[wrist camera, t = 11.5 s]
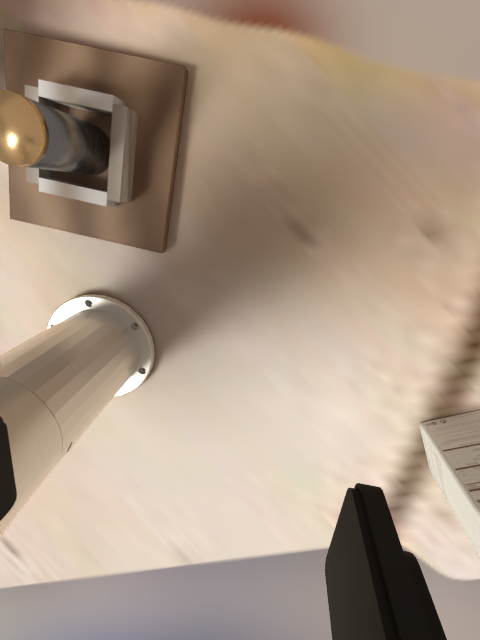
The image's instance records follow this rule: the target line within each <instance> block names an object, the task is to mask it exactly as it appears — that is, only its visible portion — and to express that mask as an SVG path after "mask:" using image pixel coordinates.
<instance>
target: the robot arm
mask: <svg viewBox="0 0 480 640" xmlns="http://www.w3.org/2000/svg"><path fill="white" fill-rule="evenodd" d="M91 301H92V302H91ZM136 323H137V324H138V325H136ZM154 357H155V350H154V343H153V339H152V335H151V333H150V331H149V329H148V327H147V325H146V324H145V322H144V321H143V319H142V318H141V317H140V316H139V315H138V314H137V313H136V312H135V311H134V310H133V309H132V308H130V307H129V306H128V305H126V304H125V303H123V302H121V301H119V300H117V299H115V298H112V297H109V296H105V295H98V294H88V295H82V296H78V297H75V298H73V299H71V300H69V301H67V302H65V303H64V304H62V305H61V306H60V307H58V309H57V310H56V311H55V312H54V313H53V315H52V317H51V319H50V321H49V323H48V327H47V330H45V331H43V332H41V333H40V334H38V335H36V336H34V337H33V338H31V339H29V340H27V341H25V342H24V343H22V344H20V345H18V346H17V347H15V348H13V349H11V350H10V351H8V352H6V353H4V354H2V355H1V356H0V537H1V536H2V534H3V533H4V531H5V530H6V528H7V527H8V526H9V524H10V523H11V522H12V520H13V519H14V517H15V516H16V515H17V513H18V512H19V511H20V509H21V508H22V507H23V506H24V504H25V503H26V502H27V501H28V499H29V498H30V497H31V496H32V494H33V493H34V492H35V491H36V489H37V488H38V487H39V486H40V484H41V483H42V482H43V481H44V480H45V478H46V477H47V476H48V475H49V474H50V472H51V471H52V470H53V469H54V468H55V466H56V465H57V464H58V463H59V462H60V460H61V459H62V458H63V457H64V456H65V454H66V453H67V452H68V451H69V450H70V448H71V447H72V446H73V445H74V444H75V442H76V441H77V440H78V439H79V438H80V437H81V435H82V434H83V433H84V432H85V431H86V429H87V428H88V427H89V426H90V425H91V423H92V422H93V421H94V420H95V419H96V417H97V416H98V415H99V414H100V413H101V411H102V410H103V409H104V408H105V407H106V405H107V404H108V403H109V402H110V401H111V399H112V398H113V397H116V396H121V395H125V394H127V393H130V392H132V391H134V390H135V389H136V388H138V387H139V386H140V385H141V384H142V383H143V382H144V381H145V379H146V378H147V376H148V375H149V373H150V372H151V369H152V366H153V363H154ZM325 574H326V575H325V576H326V584H327V594H328V603H329V612H330V620H331V631H332V639H333V640H447V639H446V636H445V633H444V631H443V628H442V625H441V622H440V620H439V617H438V614H437V612H436V609H435V606H434V604H433V601H432V598H431V595H430V593H429V590H428V587H427V584H426V582H425V579H424V576H423V574H422V571H421V568H420V565H419V563H418V561H417V559H416V557H415V556H414V555H413V554H412V553H410V552H407V551H403V549H402V546H401V544H400V541H399V538H398V535H397V532H396V529H395V526H394V523H393V520H392V517H391V514H390V511H389V508H388V505H387V502H386V499H385V496H384V493H383V491H382V489H381V488H380V487H375V486H370V485H365V484H360V483H357V484H356V485H355V488H354V489H353V488H348V490H347V492H346V496H345V499H344V502H343V505H342V508H341V512H340V515H339V518H338V521H337V525H336V528H335V531H334V534H333V537H332V541H331V544H330V547H329V550H328V554H327V557H326V563H325Z"/></svg>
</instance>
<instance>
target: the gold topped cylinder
mask: <svg viewBox="0 0 480 640" xmlns="http://www.w3.org/2000/svg"><path fill="white" fill-rule="evenodd" d="M109 156H110V140H109V138H108V137H107V135H106V134H105V132H104V131H103V130H102V129H101V128H99V127H98V126H96V125H94V124H91V123H89V122H86V121H84V120H81V119H79V118H76V117H74V116H71V115H69V114H66V113H64V112H62V111H59V110H57V109H54V108H52V107H49V106H47V105H44V104H42V103H39V102H37V101H34V100H32V99H30V98H27V97H25V96H22V95H20V94H17V93H15V92H12V91H9V90H0V161H2V162H4V163H6V164H9V165H15V166H23V167H30V168H38V169H46V170H53V171H61V172H69V173H76V174H84V175H99V174H101V173H103V172H104V171H105V170H106V169H107V168H108V167H109Z"/></svg>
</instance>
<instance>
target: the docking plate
mask: <svg viewBox="0 0 480 640" xmlns="http://www.w3.org/2000/svg"><path fill="white" fill-rule="evenodd" d="M4 42H5V72H6V90H9V91H12V92H15V93H17V94H20V95H22V96H25V97H27V98H30V99H32V100H34V101H37V102H39V103H42V104H44V105H47V106H49V107H52V108H54V109H57V110H59V111H62V112H64V113H66V114H69V115H71V116H74V117H76V118H79V119H81V120H84V121H86V122H89V123H91V124H94V125H96V126H98V127H99V128H101V129H102V130H103V131H104V132H105V134H106V135H107V137H108V138H109V140H110V156H109V167H108V168H107V169H106V170H105V171H104V172H103V173H101V174H99V175H84V174H76V173H69V172H61V171H53V170H46V169H38V168H30V167H23V166H15V165H9V194H10V219H14V220H19V221H23V222H27V223H32V224H36V225H40V226H45V227H49V228H54V229H58V230H62V231H67V232H71V233H76V234H80V235H84V236H89V237H93V238H98V239H102V240H106V241H111V242H115V243H119V244H124V245H128V246H133V247H137V248H141V249H146V250H150V251H155V252H159V253H163V252H165V250H166V242H167V234H168V226H169V218H170V210H171V202H172V195H173V187H174V179H175V171H176V163H177V155H178V147H179V140H180V132H181V124H182V116H183V108H184V100H185V92H186V84H187V77H188V71H187V69H186V68H185V67H184V66H179V65H174V64H170V63H165V62H160V61H155V60H151V59H146V58H141V57H136V56H132V55H127V54H122V53H117V52H112V51H108V50H103V49H98V48H93V47H89V46H84V45H79V44H74V43H70V42H65V41H60V40H55V39H51V38H46V37H41V36H36V35H32V34H27V33H22V32H17V31H13V30H8V29H4Z"/></svg>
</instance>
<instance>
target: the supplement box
mask: <svg viewBox="0 0 480 640" xmlns="http://www.w3.org/2000/svg"><path fill="white" fill-rule="evenodd" d="M420 429H421V434H422V438H423V443H424V447H425V451H426V456H427V460H428V464H429V469H430V472H431V473H432V475H433V477H434V479H435V480H436V482H437V484H438V486H439V487H440V489H441V491H442V493H443V494H444V496H445V498H446V500H447V501H448V503H449V505H450V507H451V509H452V510H453V512H454V514H455V516H456V517H457V519H458V521H459V523H460V524H461V526H462V528H463V530H464V532H465V533H466V535H467V537H468V539H469V540H470V542H471V544H472V546H473V547H474V549H475V551H476V553H477V554H478V556H479V558H480V411H474V412H470V413H464V414H460V415H455V416H450V417H445V418H440V419H435V420H431V421H426V422H422V423H420Z"/></svg>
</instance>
